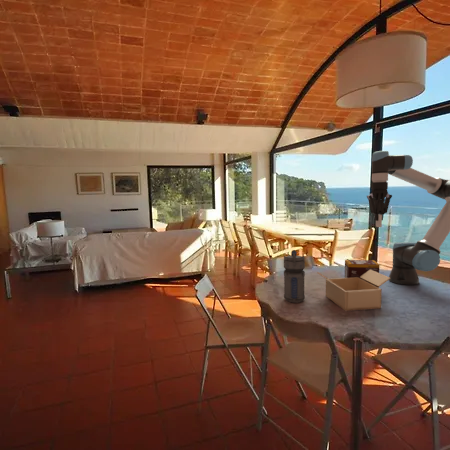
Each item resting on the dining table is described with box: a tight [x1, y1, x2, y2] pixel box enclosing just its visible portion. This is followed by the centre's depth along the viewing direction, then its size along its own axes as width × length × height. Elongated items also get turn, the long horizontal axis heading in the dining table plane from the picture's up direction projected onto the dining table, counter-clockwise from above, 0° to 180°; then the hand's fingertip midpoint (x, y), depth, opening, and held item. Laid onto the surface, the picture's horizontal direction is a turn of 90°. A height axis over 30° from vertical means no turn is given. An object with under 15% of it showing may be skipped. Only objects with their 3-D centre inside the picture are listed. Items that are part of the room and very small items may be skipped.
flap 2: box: [360, 269, 391, 288], centre depth 145 cm, size 1×16×7 cm
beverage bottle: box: [283, 249, 306, 304], centre depth 149 cm, size 10×13×25 cm
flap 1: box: [317, 271, 343, 289], centre depth 143 cm, size 1×16×7 cm
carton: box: [325, 277, 383, 312], centre depth 145 cm, size 17×21×9 cm
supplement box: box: [344, 259, 380, 288], centre depth 162 cm, size 10×15×16 cm
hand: (378, 226), depth 158 cm, fingers closed
